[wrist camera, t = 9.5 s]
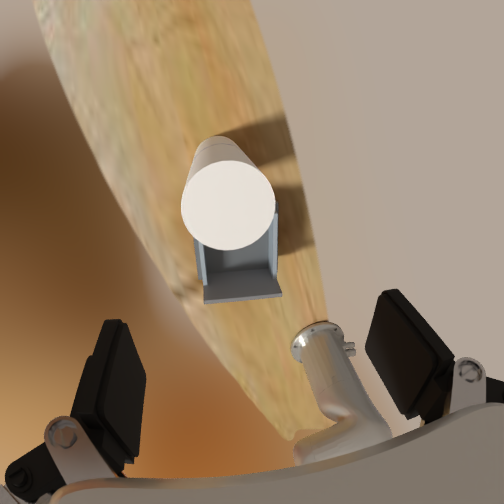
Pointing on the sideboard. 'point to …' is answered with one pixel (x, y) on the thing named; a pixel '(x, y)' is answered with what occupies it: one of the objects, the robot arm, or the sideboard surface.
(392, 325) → the robot arm
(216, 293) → the grey open box
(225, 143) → the cylindrical container
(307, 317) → the sideboard surface
